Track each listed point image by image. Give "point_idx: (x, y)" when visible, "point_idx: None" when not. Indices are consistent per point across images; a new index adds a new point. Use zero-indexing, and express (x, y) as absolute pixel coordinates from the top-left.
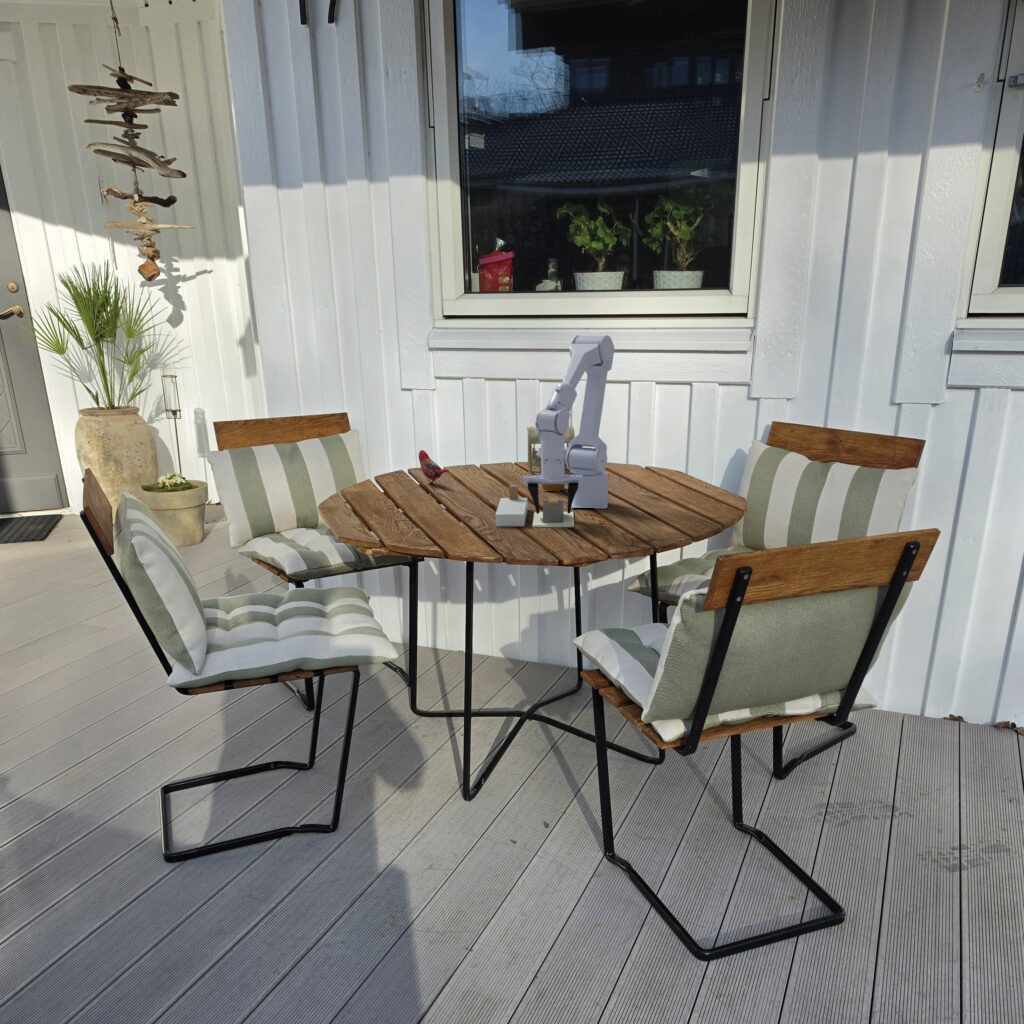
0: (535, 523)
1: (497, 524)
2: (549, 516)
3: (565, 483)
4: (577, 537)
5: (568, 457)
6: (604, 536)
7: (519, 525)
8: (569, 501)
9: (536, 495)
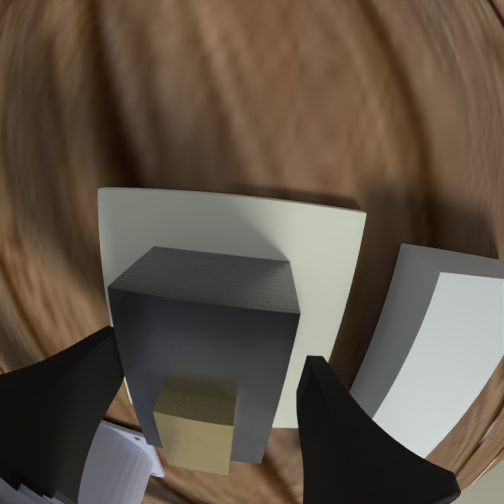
0: (341, 252)
1: (500, 262)
2: (240, 275)
3: (41, 502)
4: (118, 9)
5: None
6: (26, 54)
7: (425, 248)
8: (63, 364)
9: (362, 455)
